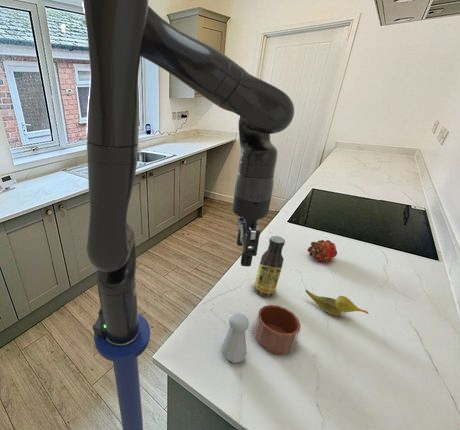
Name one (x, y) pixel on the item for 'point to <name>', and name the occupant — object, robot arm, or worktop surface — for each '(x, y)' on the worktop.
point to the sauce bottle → (270, 267)
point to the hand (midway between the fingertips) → (243, 254)
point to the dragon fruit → (322, 250)
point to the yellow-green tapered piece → (335, 304)
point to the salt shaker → (236, 338)
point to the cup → (277, 329)
